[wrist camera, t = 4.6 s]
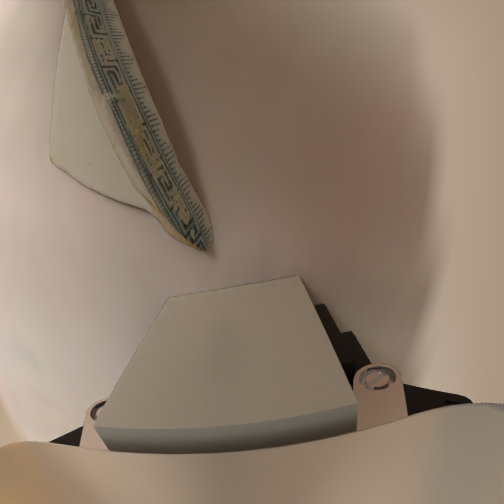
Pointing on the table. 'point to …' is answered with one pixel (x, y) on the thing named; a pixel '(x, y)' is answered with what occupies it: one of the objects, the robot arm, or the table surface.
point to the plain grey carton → (230, 376)
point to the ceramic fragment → (117, 125)
